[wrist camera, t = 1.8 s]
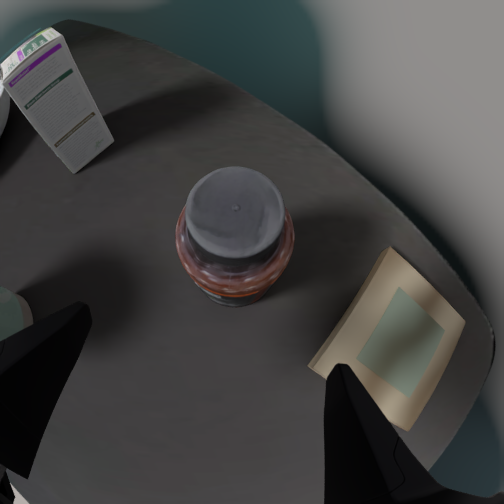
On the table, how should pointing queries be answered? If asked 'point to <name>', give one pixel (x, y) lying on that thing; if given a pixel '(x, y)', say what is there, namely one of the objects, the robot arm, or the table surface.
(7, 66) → the syrup box
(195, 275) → the supplement bottle
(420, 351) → the board
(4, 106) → the serving bowl
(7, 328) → the coffee cup
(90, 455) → the table surface
